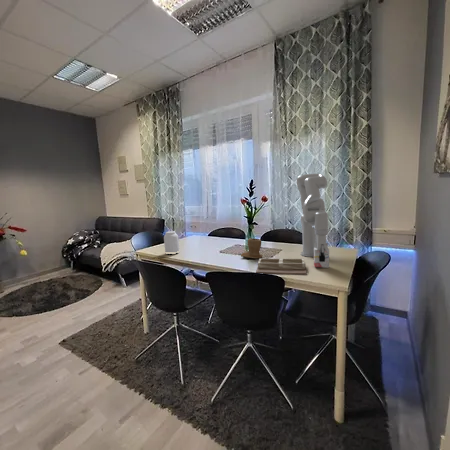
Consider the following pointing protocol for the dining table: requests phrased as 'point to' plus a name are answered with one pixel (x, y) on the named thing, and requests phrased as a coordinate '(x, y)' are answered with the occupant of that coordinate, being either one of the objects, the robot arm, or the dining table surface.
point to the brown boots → (253, 249)
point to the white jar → (171, 242)
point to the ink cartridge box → (316, 257)
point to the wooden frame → (281, 266)
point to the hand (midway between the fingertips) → (321, 259)
